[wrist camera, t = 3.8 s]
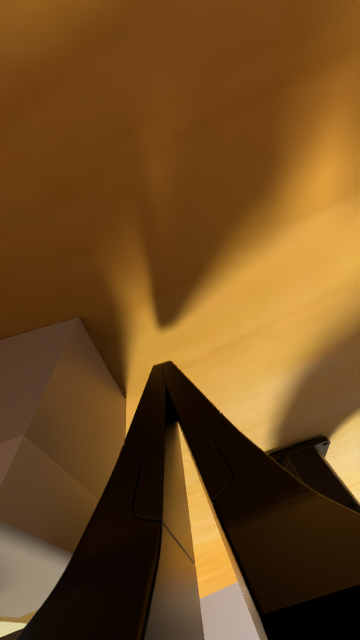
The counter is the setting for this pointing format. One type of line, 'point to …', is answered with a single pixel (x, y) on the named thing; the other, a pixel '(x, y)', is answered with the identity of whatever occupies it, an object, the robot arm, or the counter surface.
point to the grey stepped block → (51, 454)
